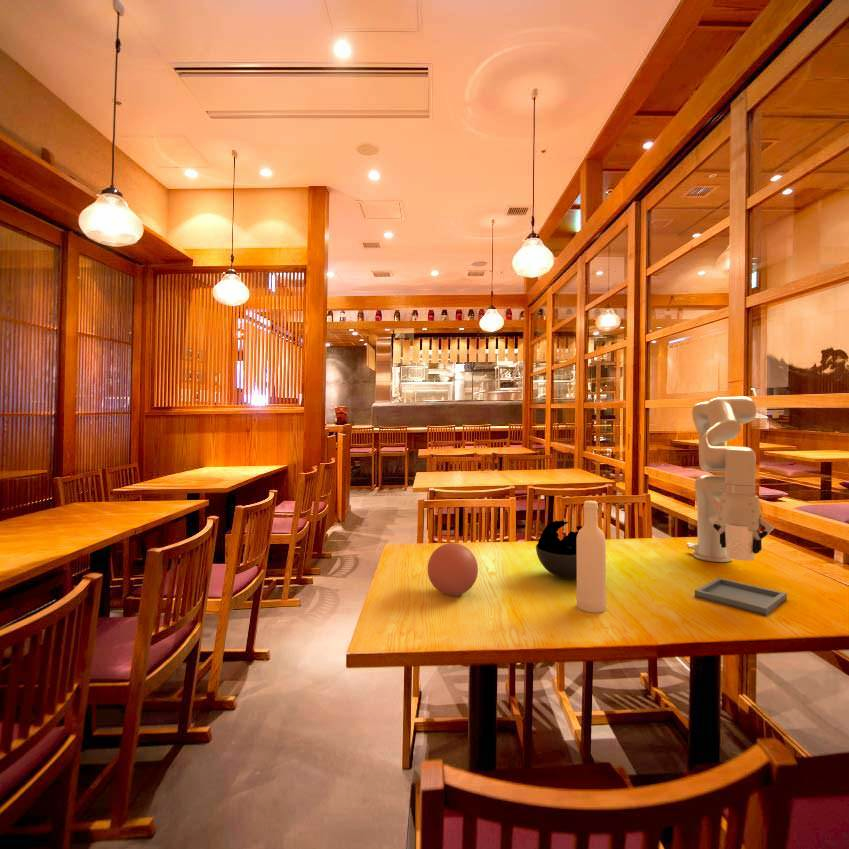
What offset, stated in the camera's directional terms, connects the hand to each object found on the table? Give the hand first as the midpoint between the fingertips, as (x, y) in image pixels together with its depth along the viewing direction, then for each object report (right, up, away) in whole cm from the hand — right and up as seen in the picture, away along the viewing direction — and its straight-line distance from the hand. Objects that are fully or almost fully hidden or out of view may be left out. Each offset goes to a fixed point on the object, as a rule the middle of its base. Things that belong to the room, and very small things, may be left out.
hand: (740, 549), depth 140 cm
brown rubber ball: (-85, -15, +8) cm, 87 cm away
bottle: (-46, -15, -6) cm, 49 cm away
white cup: (0, -3, 0) cm, 3 cm away
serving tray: (0, -14, 0) cm, 14 cm away
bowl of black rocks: (-45, -15, +20) cm, 52 cm away
